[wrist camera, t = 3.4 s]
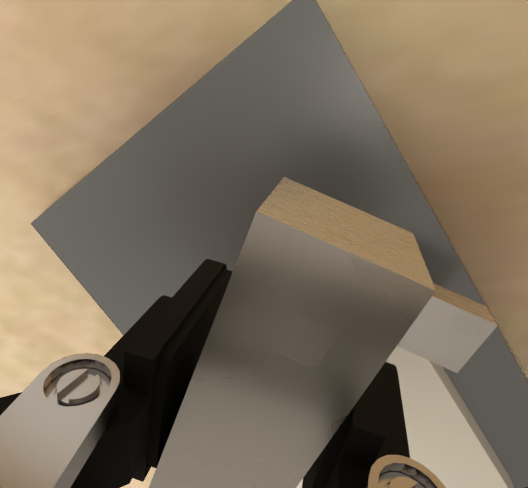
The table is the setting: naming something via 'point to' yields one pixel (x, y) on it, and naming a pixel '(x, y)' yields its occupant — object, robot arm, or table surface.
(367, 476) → the robot arm
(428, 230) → the base
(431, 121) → the table surface
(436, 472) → the cover
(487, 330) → the t key
